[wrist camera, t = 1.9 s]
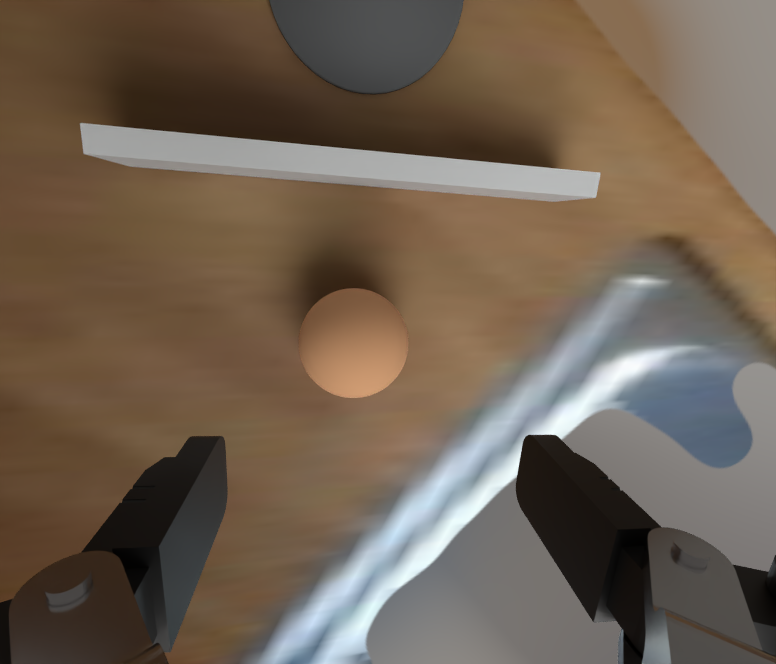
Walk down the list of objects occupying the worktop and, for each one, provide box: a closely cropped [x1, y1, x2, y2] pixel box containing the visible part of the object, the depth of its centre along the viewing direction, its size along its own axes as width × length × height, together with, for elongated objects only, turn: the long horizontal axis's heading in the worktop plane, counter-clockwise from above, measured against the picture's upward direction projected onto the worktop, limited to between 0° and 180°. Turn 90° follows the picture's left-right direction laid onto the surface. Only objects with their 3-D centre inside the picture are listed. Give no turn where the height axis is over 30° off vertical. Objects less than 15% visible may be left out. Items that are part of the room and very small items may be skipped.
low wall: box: [80, 123, 600, 202], centre depth 20 cm, size 24×1×4 cm, turn 86°
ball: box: [299, 288, 408, 398], centre depth 22 cm, size 6×6×6 cm
